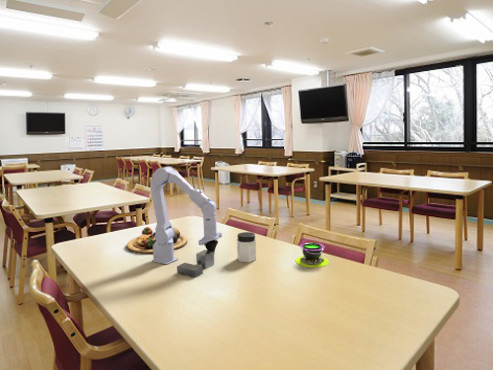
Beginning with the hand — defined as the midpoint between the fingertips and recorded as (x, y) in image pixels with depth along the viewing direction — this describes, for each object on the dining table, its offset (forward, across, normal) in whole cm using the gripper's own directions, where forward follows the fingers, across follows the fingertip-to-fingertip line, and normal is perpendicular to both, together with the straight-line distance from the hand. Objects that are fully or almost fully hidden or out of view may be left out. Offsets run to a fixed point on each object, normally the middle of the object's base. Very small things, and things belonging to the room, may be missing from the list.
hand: (211, 256), depth 159 cm
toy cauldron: (+3, +24, -39) cm, 46 cm away
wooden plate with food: (+4, +8, +43) cm, 44 cm away
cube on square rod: (+3, -4, 0) cm, 5 cm away
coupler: (+3, -10, 0) cm, 11 cm away
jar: (+3, +11, -12) cm, 17 cm away
